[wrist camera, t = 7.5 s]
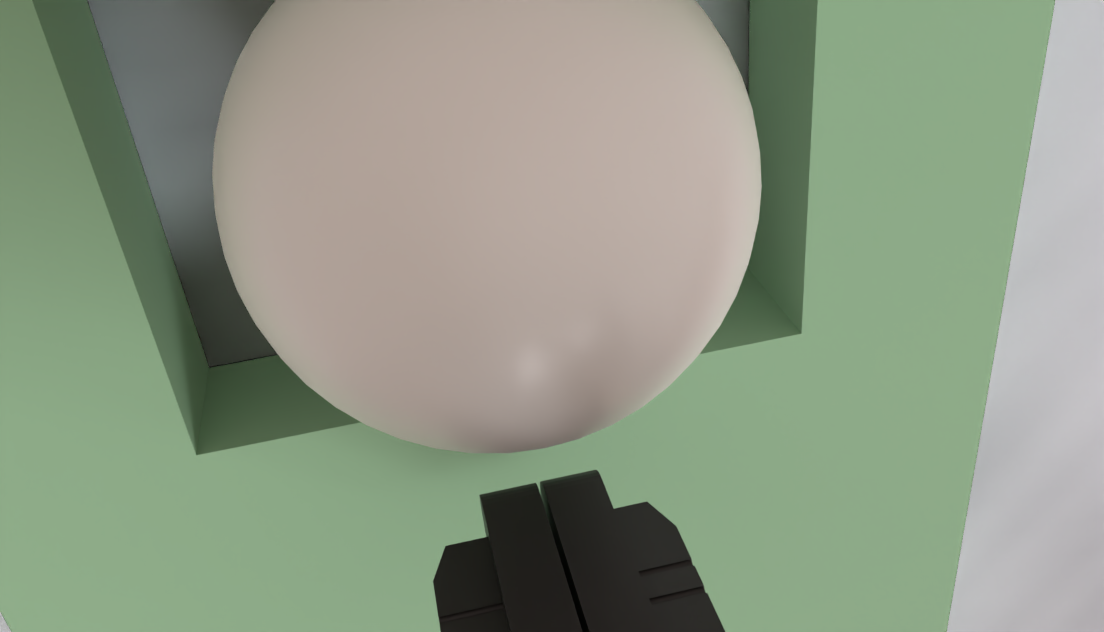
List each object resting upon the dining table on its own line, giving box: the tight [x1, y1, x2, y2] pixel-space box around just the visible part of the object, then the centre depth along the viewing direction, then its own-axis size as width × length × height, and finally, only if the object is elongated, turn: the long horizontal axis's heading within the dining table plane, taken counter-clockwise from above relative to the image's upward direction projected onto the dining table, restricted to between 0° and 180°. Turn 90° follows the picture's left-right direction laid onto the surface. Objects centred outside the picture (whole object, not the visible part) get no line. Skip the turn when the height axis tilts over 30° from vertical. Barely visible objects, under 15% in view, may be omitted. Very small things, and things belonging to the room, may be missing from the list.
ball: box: [212, 0, 762, 453], centre depth 11 cm, size 6×6×6 cm
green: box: [0, 0, 1055, 632], centre depth 14 cm, size 14×22×4 cm, turn 5°
